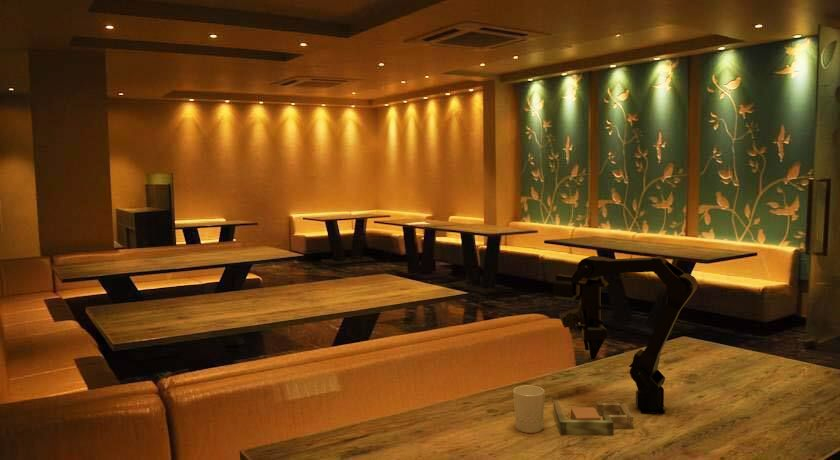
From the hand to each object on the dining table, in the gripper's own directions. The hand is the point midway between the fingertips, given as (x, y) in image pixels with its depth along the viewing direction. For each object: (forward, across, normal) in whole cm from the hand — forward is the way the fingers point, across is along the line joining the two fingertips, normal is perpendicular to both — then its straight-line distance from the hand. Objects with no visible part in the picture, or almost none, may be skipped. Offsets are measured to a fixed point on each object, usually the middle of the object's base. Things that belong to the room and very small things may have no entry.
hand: (589, 354), depth 190 cm
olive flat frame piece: (+13, +18, -2) cm, 22 cm away
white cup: (+13, +22, -19) cm, 32 cm away
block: (+13, +21, -4) cm, 25 cm away
